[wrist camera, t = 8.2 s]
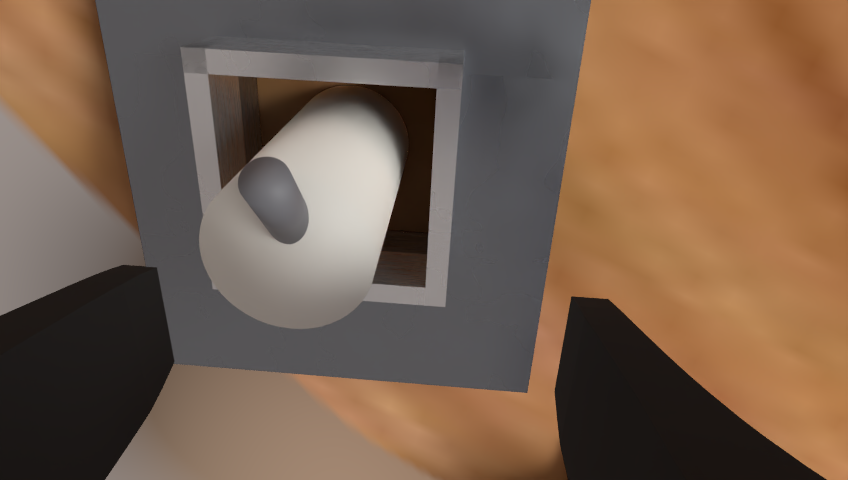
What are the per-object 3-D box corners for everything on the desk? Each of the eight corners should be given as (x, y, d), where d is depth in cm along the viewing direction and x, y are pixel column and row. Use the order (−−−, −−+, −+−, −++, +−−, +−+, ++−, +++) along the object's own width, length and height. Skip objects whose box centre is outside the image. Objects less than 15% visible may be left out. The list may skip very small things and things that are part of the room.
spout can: (405, 200, 19) (360, 383, 11) (296, 189, 19) (176, 364, 11) (413, 70, 17) (368, 180, 9) (293, 59, 18) (147, 158, 10)
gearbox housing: (523, 365, 22) (532, 435, 19) (182, 338, 22) (136, 401, 19) (617, -243, 14) (660, -296, 11) (80, -264, 14) (-27, -321, 11)
